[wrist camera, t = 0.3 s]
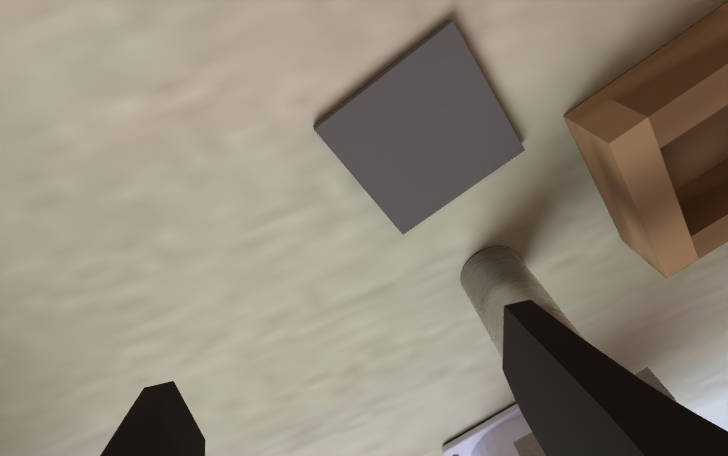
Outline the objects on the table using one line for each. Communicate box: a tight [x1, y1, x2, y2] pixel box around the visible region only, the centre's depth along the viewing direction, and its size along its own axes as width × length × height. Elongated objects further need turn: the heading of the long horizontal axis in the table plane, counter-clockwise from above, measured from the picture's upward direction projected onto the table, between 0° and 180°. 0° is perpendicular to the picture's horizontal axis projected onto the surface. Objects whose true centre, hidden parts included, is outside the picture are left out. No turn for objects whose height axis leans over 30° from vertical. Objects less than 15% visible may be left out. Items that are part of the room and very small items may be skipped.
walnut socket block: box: [564, 2, 728, 278], centre depth 19 cm, size 8×8×3 cm
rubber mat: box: [314, 19, 525, 234], centre depth 18 cm, size 6×6×1 cm
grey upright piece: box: [461, 246, 676, 456], centre depth 19 cm, size 3×5×9 cm, turn 126°
